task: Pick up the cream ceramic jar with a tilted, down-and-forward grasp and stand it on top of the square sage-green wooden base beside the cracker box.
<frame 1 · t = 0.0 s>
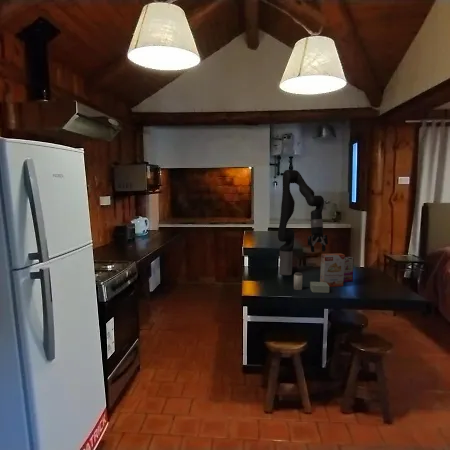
hand: (318, 251, 247), 22 cm above the counter, tool pointing down, fingers open, 8 cm apart
jar: (297, 288, 242), on the counter
candy bar box: (344, 281, 263), on the counter
cracker box: (331, 286, 250), on the counter
base: (319, 290, 239), on the counter
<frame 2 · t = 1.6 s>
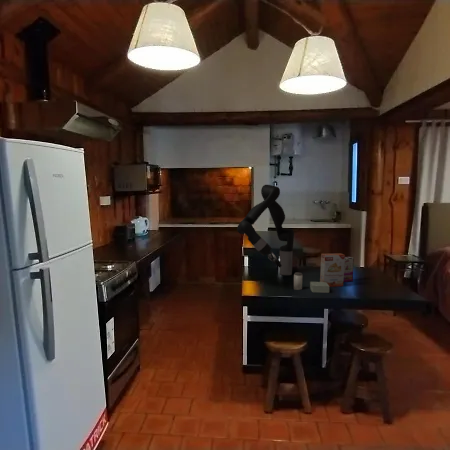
hand: (280, 265, 241), 15 cm above the counter, tool tilted 45°, fingers open, 8 cm apart
nothing on the counter moved.
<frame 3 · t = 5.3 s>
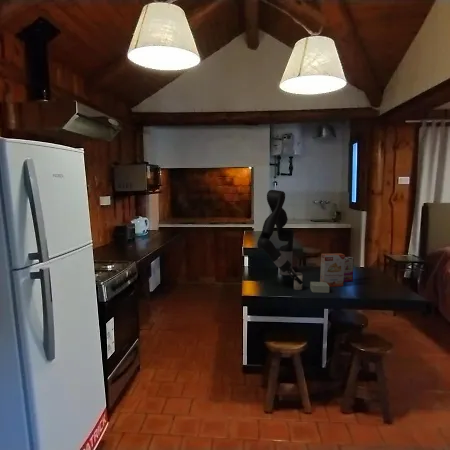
hand: (300, 282, 241), 4 cm above the counter, tool tilted 45°, fingers closed on jar, 5 cm apart
jar: (297, 288, 242), on the counter, touching gripper
everything else where it was.
when the fingers open (10 cm above the counter, at t = 11.2 s): jar drops 1 cm, resting on base.
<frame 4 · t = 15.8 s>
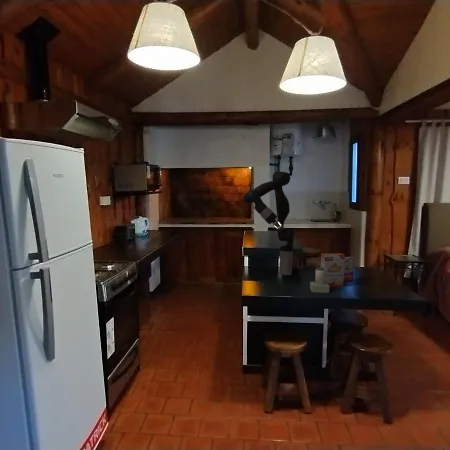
hand: (285, 233, 249), 34 cm above the counter, tool tilted 45°, fingers open, 8 cm apart
jar: (319, 283, 239), point 4 cm above the counter, touching base
everything else where it was.
at the end: jar inside the target area on the base (0.1 cm from its centre), point 4.0 cm above the base's base; jar tilted 0°; the gripper is holding nothing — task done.
